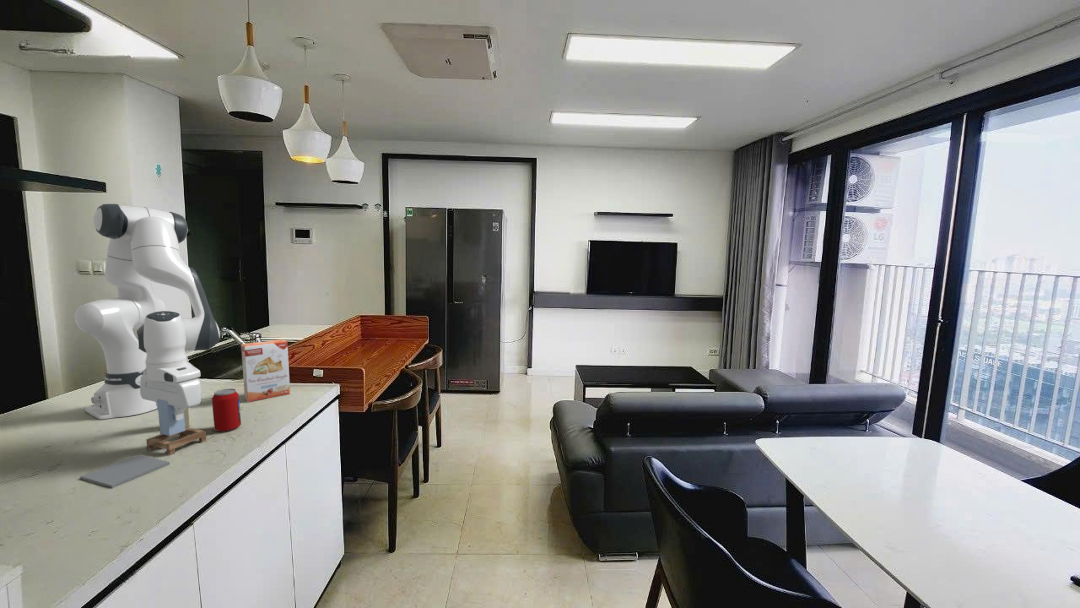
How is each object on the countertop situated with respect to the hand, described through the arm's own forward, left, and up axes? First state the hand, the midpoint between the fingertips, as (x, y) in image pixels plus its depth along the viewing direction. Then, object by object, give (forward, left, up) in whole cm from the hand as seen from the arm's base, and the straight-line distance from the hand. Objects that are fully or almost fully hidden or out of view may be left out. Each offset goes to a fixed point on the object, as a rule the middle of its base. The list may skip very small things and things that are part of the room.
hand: (171, 418), depth 122 cm
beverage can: (+3, +13, -8) cm, 16 cm away
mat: (+5, -14, -8) cm, 16 cm away
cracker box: (-12, +39, -8) cm, 42 cm away
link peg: (0, 0, -4) cm, 4 cm away
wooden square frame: (+1, 0, -8) cm, 8 cm away
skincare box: (-13, +9, -8) cm, 18 cm away
